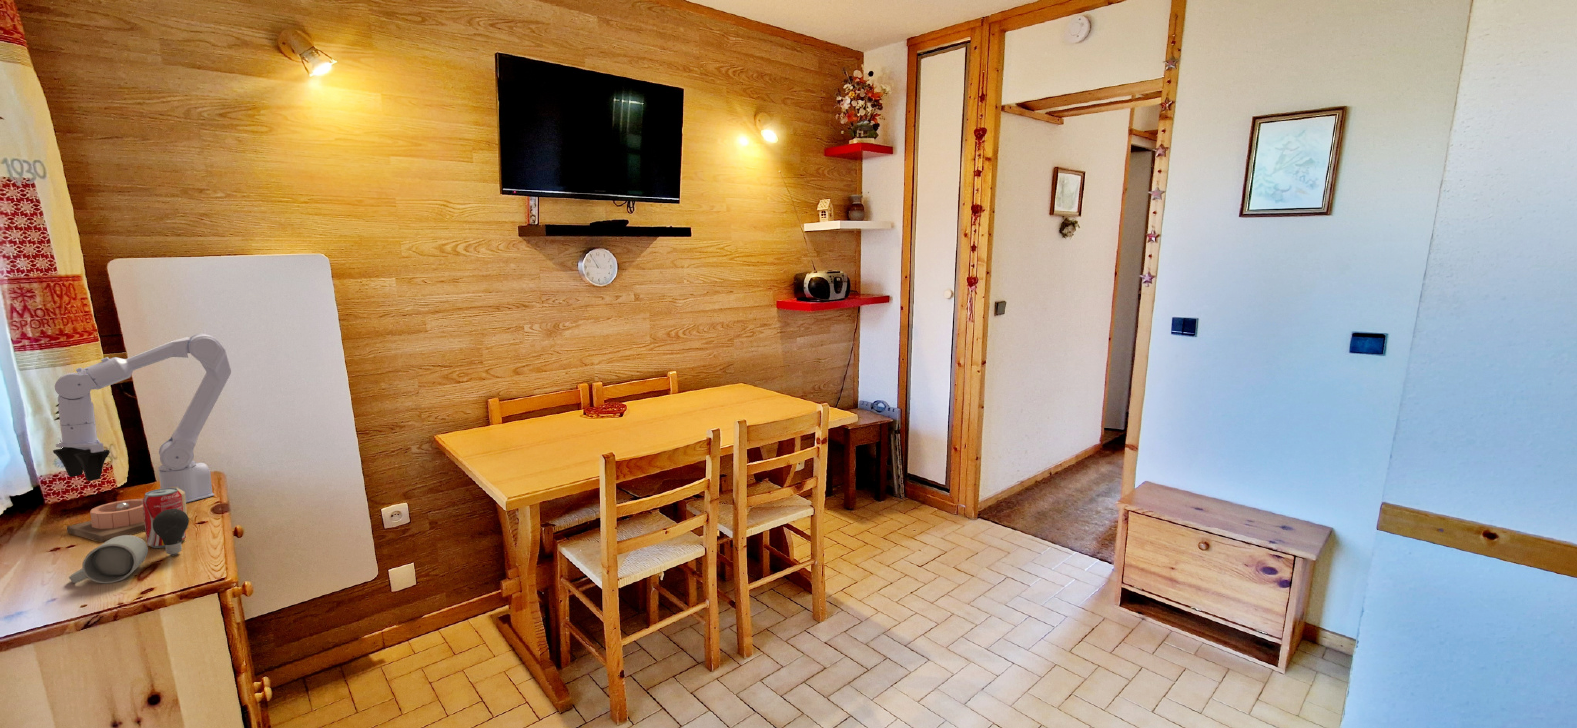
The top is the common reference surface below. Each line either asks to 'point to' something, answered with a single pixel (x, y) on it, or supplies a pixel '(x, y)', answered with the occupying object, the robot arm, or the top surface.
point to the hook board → (104, 531)
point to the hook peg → (122, 506)
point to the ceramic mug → (112, 560)
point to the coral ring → (117, 514)
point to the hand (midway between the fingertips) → (84, 477)
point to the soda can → (159, 511)
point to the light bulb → (171, 529)
